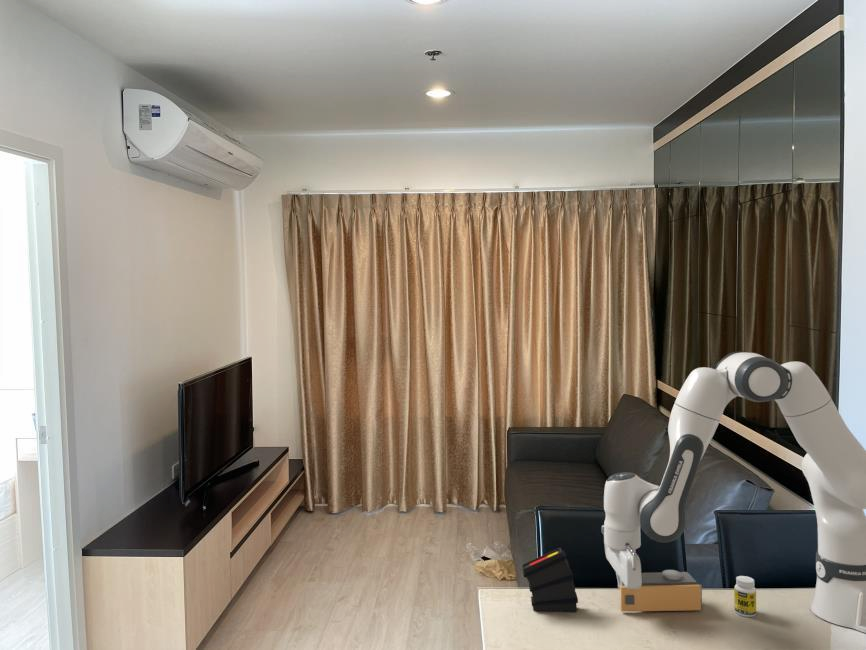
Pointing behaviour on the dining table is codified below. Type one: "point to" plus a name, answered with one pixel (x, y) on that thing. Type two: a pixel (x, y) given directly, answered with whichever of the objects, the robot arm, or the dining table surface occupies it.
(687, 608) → the side door
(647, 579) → the block
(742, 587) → the supplement bottle
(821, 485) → the robot arm
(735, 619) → the dining table surface
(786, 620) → the dining table surface
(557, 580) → the magazine
